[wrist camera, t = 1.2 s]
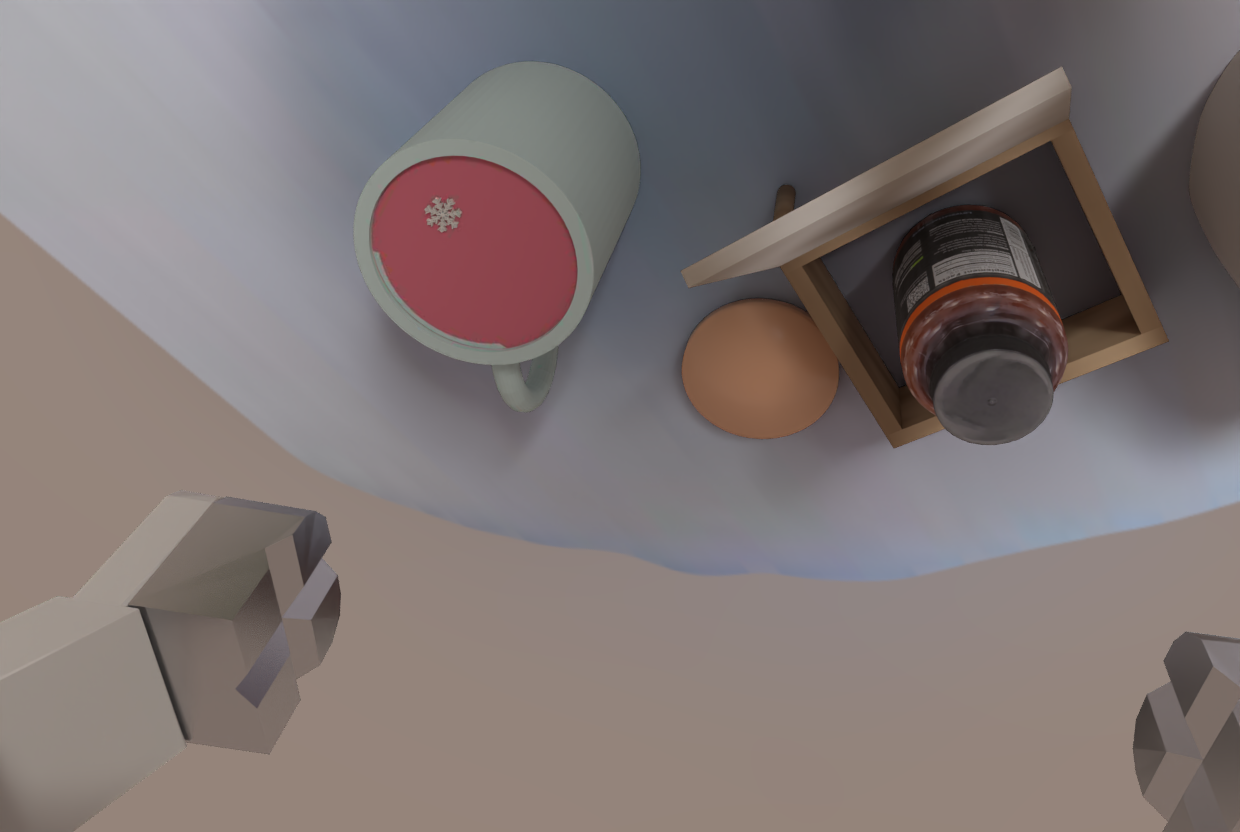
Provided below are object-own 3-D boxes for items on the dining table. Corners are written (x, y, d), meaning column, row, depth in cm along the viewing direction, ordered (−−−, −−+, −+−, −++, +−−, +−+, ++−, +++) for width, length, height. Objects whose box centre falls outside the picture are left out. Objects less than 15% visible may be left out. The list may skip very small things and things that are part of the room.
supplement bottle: (1015, 328, 44) (1059, 480, 35) (881, 315, 45) (890, 461, 36) (1048, 204, 41) (1107, 337, 32) (903, 193, 42) (919, 320, 32)
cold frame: (997, -31, 36) (1063, 69, 25) (1147, 301, 42) (1253, 497, 31) (723, 133, 42) (679, 274, 31) (891, 406, 48) (904, 605, 37)
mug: (425, 65, 42) (326, 141, 34) (632, 57, 41) (579, 135, 32) (477, 337, 50) (407, 452, 42) (654, 341, 48) (615, 461, 40)
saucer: (790, 271, 45) (789, 279, 44) (866, 394, 48) (866, 403, 47) (655, 339, 48) (652, 348, 47) (733, 450, 51) (732, 459, 50)
